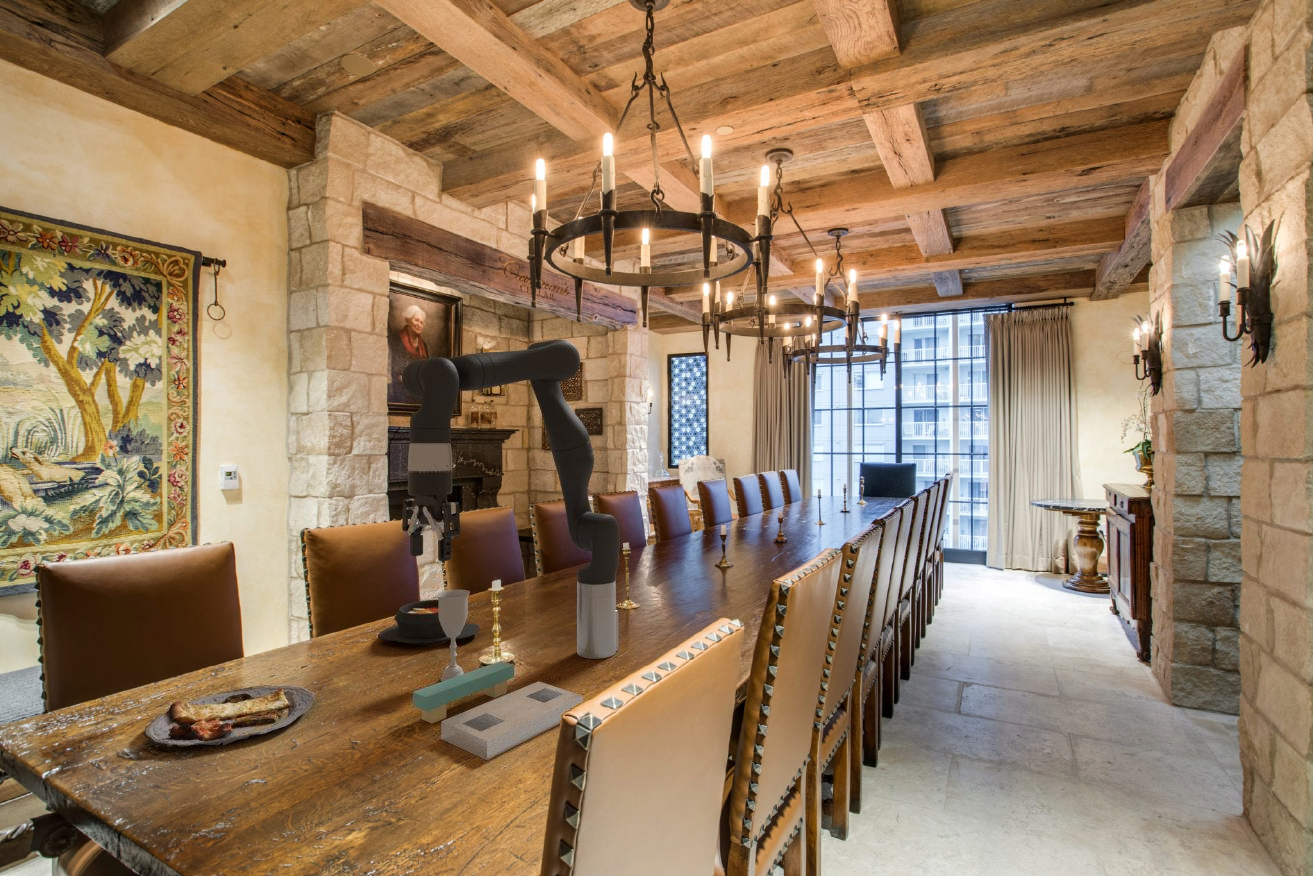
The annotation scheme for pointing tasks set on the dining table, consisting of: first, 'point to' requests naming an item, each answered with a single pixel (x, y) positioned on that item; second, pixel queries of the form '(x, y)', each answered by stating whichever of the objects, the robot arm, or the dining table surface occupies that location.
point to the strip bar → (462, 689)
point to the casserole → (421, 625)
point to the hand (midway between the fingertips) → (430, 558)
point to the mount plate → (508, 719)
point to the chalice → (453, 624)
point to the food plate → (228, 715)
